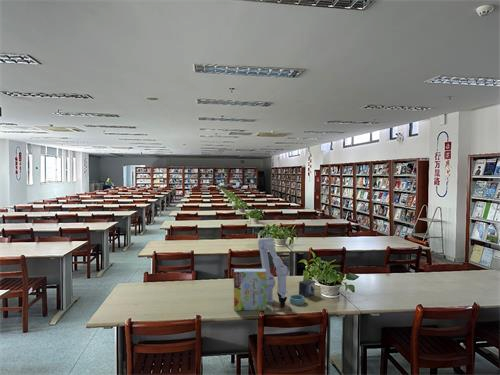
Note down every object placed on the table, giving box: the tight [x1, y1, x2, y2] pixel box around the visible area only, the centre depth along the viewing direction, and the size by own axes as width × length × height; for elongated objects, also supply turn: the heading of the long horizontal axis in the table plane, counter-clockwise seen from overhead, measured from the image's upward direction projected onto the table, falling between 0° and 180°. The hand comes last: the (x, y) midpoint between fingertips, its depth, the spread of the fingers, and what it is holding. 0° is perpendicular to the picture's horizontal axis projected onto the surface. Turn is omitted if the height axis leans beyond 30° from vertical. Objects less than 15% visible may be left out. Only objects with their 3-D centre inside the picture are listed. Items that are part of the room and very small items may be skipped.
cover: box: [271, 302, 293, 313], centre depth 231 cm, size 12×12×4 cm
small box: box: [298, 279, 316, 298], centre depth 257 cm, size 11×6×10 cm, turn 126°
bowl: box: [288, 294, 306, 306], centre depth 242 cm, size 10×10×4 cm
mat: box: [269, 303, 294, 313], centre depth 231 cm, size 14×14×1 cm
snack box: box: [233, 268, 267, 311], centre depth 231 cm, size 22×9×26 cm, turn 92°
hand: (281, 304), depth 231 cm, fingers open, 7 cm apart
